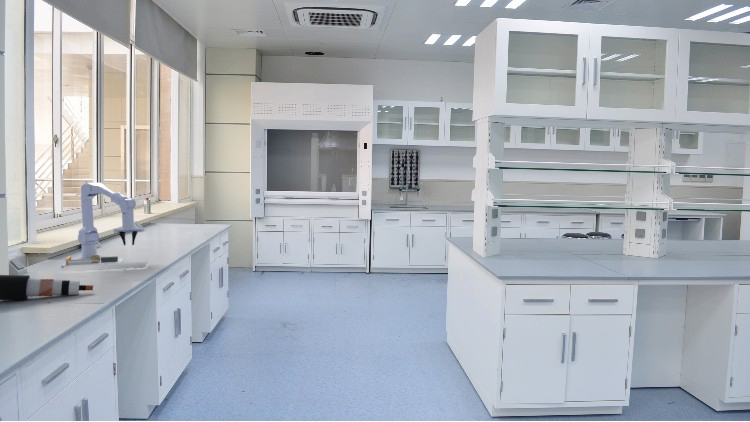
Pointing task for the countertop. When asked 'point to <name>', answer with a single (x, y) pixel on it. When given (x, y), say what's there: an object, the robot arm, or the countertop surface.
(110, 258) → the bar
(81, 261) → the channel
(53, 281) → the cable
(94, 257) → the slider block
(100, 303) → the countertop surface
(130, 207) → the robot arm
